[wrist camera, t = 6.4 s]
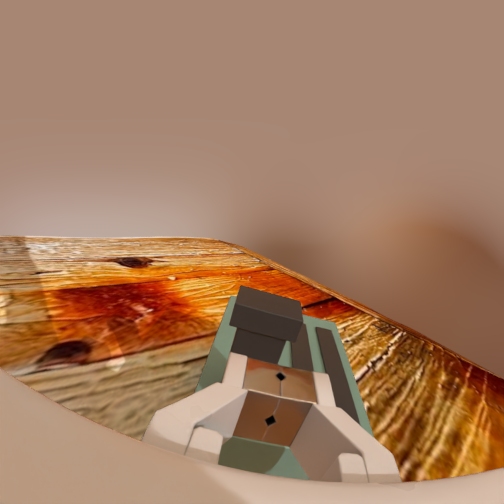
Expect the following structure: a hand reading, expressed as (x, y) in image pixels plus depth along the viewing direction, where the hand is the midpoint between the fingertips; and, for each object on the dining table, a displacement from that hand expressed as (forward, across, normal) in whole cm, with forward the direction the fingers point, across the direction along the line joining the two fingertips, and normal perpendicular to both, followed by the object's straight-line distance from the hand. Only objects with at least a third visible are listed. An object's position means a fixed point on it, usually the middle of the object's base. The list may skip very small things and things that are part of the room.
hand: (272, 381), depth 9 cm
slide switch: (+6, 0, +6) cm, 9 cm away
